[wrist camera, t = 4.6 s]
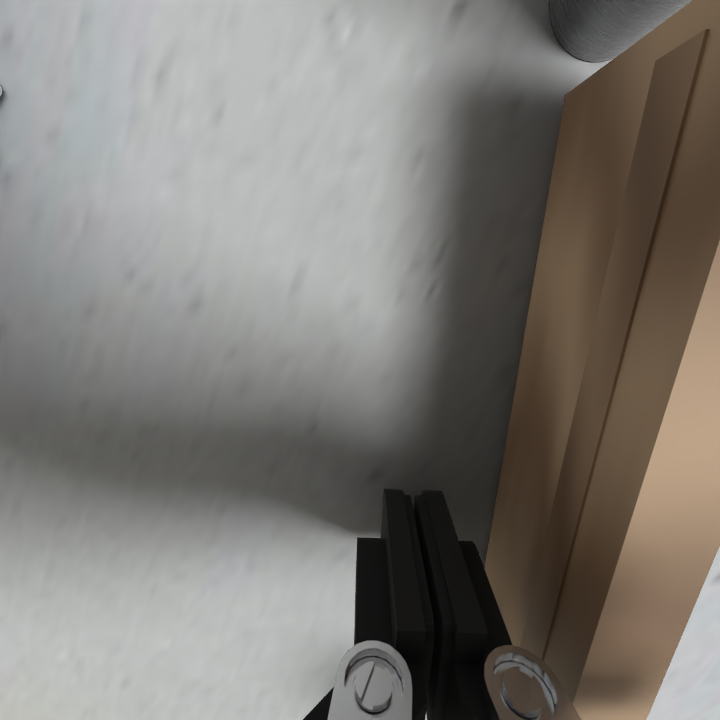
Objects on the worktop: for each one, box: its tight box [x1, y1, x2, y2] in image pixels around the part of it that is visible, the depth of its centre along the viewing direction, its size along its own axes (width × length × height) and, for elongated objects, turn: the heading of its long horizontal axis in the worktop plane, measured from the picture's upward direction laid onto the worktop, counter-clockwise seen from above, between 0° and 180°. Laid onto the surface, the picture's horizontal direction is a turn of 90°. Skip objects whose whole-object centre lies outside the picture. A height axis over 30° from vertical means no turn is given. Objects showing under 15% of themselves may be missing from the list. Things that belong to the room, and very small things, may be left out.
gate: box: [484, 0, 720, 720], centre depth 8 cm, size 18×2×4 cm, turn 179°
